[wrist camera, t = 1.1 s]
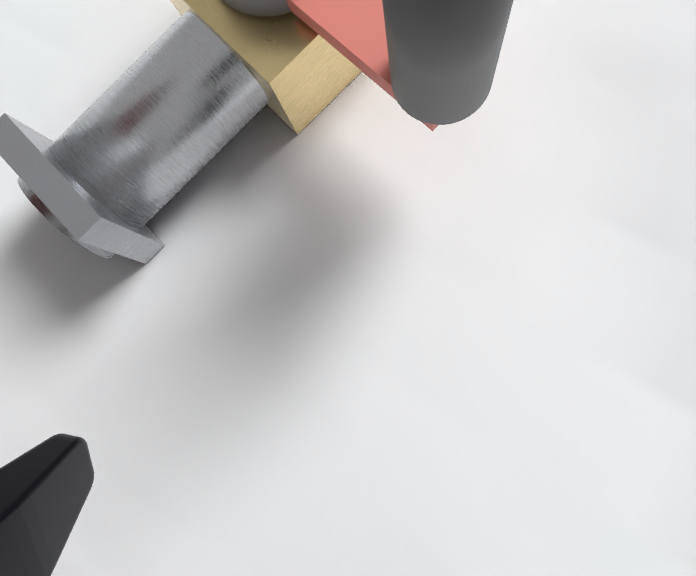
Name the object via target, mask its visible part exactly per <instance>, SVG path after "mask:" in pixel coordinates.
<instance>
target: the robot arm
mask: <svg viewBox="0 0 696 576" xmlns="http://www.w3.org/2000/svg"><path fill="white" fill-rule="evenodd" d="M93 480H94V470H93V466H92V462H91V458H90V454H89V450H88V446H87V443H86V441H85V440H84V439H83V438H81V437H77V436H72V435H68V434H57V435H54V436H52V437H50V438H49V439H47V440H45V441H44V442H42V443H41V444H39V445H37V446H36V447H34V448H32V449H31V450H29V451H28V452H26V453H24V454H23V455H21V456H19V457H18V458H16V459H15V460H13V461H11V462H10V463H8V464H6V465H5V466H3V467H2V468H0V576H51V574H52V572H53V570H54V568H55V566H56V563H57V561H58V559H59V557H60V555H61V553H62V550H63V548H64V546H65V544H66V542H67V540H68V537H69V535H70V533H71V531H72V529H73V526H74V524H75V522H76V520H77V518H78V516H79V513H80V511H81V509H82V507H83V505H84V503H85V500H86V498H87V496H88V494H89V492H90V489H91V487H92V484H93Z"/></svg>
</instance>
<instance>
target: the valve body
mask: <svg viewBox="0 0 696 576" xmlns="http://www.w3.org/2000/svg"><path fill="white" fill-rule="evenodd" d="M171 2H172V3H173V5H174V6H175V8H176V9H177V10H178V12H179V13H180V15H181V17H180V18H179V19H178V20H177V21H176V22H175V23H174V24H173V25H172V26H171V27H170V28H169V29H168V30H167V31H166V32H165V33H164V34H163V35H162V36H161V37H160V38H159V39H158V40H157V41H156V42H155V43H154V44H153V45H152V46H151V47H150V48H149V49H148V50H147V51H146V52H145V53H144V54H143V55H142V56H141V57H140V58H139V59H138V60H137V61H136V62H135V63H134V64H133V65H132V66H131V67H130V68H129V69H128V70H127V71H126V72H125V73H124V74H123V75H122V76H121V77H120V78H119V79H118V80H117V81H116V82H115V83H114V84H113V85H112V86H111V87H110V88H109V89H108V90H107V91H106V92H105V93H104V94H103V95H102V96H101V97H100V98H99V99H98V100H97V101H96V102H95V103H94V104H93V105H91V106H90V107H89V108H88V109H87V110H86V111H85V112H84V113H83V114H82V115H81V116H80V117H79V118H78V119H77V120H76V121H75V122H74V123H73V124H72V125H71V126H70V127H69V128H68V129H67V130H66V131H65V132H64V133H63V134H62V135H61V136H60V137H59V138H58V139H57V140H56V141H55V142H53V141H51V140H50V139H48V138H46V137H45V136H43V135H41V134H40V133H38V132H36V131H34V130H33V129H31V128H29V127H28V126H26V125H24V124H23V123H21V122H19V121H17V120H16V119H14V118H12V117H11V116H9V115H7V114H6V113H4V114H3V115H2V116H1V117H0V156H1V157H2V158H3V159H4V160H5V161H6V162H7V163H8V164H9V166H10V167H11V168H12V169H13V170H14V171H15V172H16V173H17V174H18V175H19V178H18V183H19V186H20V188H21V190H22V191H23V193H24V194H25V195H26V197H27V198H28V199H29V200H30V202H31V203H32V204H33V205H34V206H35V207H36V208H37V209H38V210H39V211H40V212H41V213H42V214H43V215H44V216H45V217H46V218H47V219H48V220H49V221H50V222H51V223H52V224H54V225H55V226H56V227H57V228H58V229H59V230H61V231H62V232H63V233H64V234H66V235H67V236H68V237H69V238H71V239H72V240H74V241H75V242H76V243H78V244H79V245H81V246H82V247H84V248H85V249H87V250H89V251H90V252H92V253H94V254H96V255H98V256H100V257H103V258H107V259H110V258H112V257H113V256H114V255H115V254H118V255H121V256H124V257H127V258H130V259H133V260H135V261H138V262H141V263H144V264H146V263H147V262H148V261H149V260H150V259H151V258H152V257H153V256H154V255H155V254H156V253H157V252H158V251H160V250H161V249H162V248H163V247H164V246H165V245H164V244H163V243H162V242H161V241H160V240H159V239H158V238H157V237H156V236H155V235H154V234H153V232H152V231H151V230H150V229H149V228H148V227H147V226H146V225H145V224H146V223H147V222H148V221H149V220H150V219H151V218H152V217H153V216H154V215H155V214H156V213H157V212H158V211H159V210H160V209H161V208H162V207H163V206H164V205H165V204H166V203H167V202H168V201H169V200H170V199H171V198H172V197H173V196H174V195H175V194H176V193H177V192H179V191H180V190H181V189H182V188H183V187H184V186H185V185H186V184H187V183H188V182H189V181H190V180H191V179H192V178H193V177H194V176H195V175H196V174H197V173H198V172H199V171H200V170H201V169H202V168H203V167H204V166H205V165H206V164H207V163H208V162H209V161H210V160H211V159H212V158H213V157H214V156H215V155H216V154H217V153H218V152H219V151H220V150H221V149H222V148H223V147H224V146H225V145H226V144H227V143H228V142H229V141H230V140H231V139H232V138H233V137H234V136H235V135H236V134H237V133H238V132H239V131H240V130H241V129H242V128H243V127H244V126H245V125H246V124H247V123H248V122H249V121H250V120H251V119H252V118H253V117H254V116H255V115H256V114H257V113H258V112H259V111H260V110H261V109H262V108H263V107H264V106H265V105H266V104H267V105H268V106H269V107H270V108H271V109H272V110H273V111H274V112H275V113H276V114H277V115H278V116H279V117H280V118H281V119H282V120H283V121H284V122H285V123H286V124H287V125H288V126H289V127H290V128H291V129H292V130H293V131H294V132H295V133H296V134H297V135H298V134H299V133H300V132H301V131H302V130H303V129H304V128H305V127H306V126H307V125H308V124H309V123H310V122H311V121H312V120H313V119H314V118H315V117H316V116H317V115H318V114H319V113H320V112H321V111H322V110H323V109H324V108H325V107H326V106H327V105H328V104H329V103H330V102H331V101H332V100H333V99H334V98H335V97H336V96H337V95H338V94H339V93H340V92H342V91H343V90H344V89H345V88H346V87H347V86H348V85H349V84H350V83H351V82H352V81H353V80H354V79H355V78H356V77H357V76H358V75H359V74H360V73H361V72H362V71H361V70H360V69H359V68H358V67H356V66H355V65H354V64H353V63H352V62H350V61H349V60H348V59H347V58H346V57H345V56H343V55H342V54H341V53H340V52H339V51H337V50H336V49H335V48H334V47H333V46H332V45H330V44H329V43H328V42H327V41H326V40H324V39H323V38H322V37H321V36H320V35H319V34H317V33H316V32H315V31H314V30H313V29H311V28H310V27H309V26H308V25H307V24H306V23H304V22H303V21H302V20H301V19H300V18H299V17H297V16H296V15H295V14H294V13H293V12H290V13H286V14H283V15H277V16H264V17H263V16H254V15H249V14H245V13H243V12H240V11H238V10H236V9H234V8H232V7H230V6H229V5H227V4H226V3H225V2H223V1H222V0H171Z"/></svg>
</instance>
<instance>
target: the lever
mask: <svg viewBox="0 0 696 576" xmlns="http://www.w3.org/2000/svg"><path fill="white" fill-rule="evenodd" d="M222 1H223V2H225V3H226V4H227V5H229V6H230V7H232V8H234V9H236V10H238V11H240V12H243V13H245V14H249V15H254V16H263V17H264V16H277V15H283V14H286V13H290V12H293V13H294V14H295V15H296V16H297V17H299V18H300V19H301V20H302V21H303V22H304V23H306V24H307V25H308V26H309V27H310V28H311V29H313V30H314V31H315V32H316V33H317V34H319V35H320V36H321V37H322V38H323V39H324V40H326V41H327V42H328V43H329V44H330V45H332V46H333V47H334V48H335V49H336V50H337V51H339V52H340V53H341V54H342V55H343V56H345V57H346V58H347V59H348V60H349V61H350V62H352V63H353V64H354V65H355V66H356V67H358V68H359V69H360V70H361V71H362V72H363V73H365V74H366V75H367V76H368V77H369V78H370V79H372V80H373V81H374V82H375V83H376V84H378V85H379V86H380V87H381V88H382V89H383V90H385V91H386V92H387V93H388V94H389V95H391V96H392V97H393V98H394V99H395V100H396V101H397V102H398V103H399V105H400V106H401V107H402V109H403V110H405V111H406V112H407V113H408V114H409V115H410V116H412V117H414V118H415V119H417V120H419V121H421V122H422V123H424V124H425V125H426V126H427V127H428V128H429V129H431V130H432V131H433V130H434V129H435V128H436V127H437V126H438V125H445V124H451V123H455V122H458V121H461V120H463V119H465V118H467V117H469V116H470V115H471V114H473V113H474V112H475V111H476V110H477V109H478V108H480V106H481V105H482V104H483V103H484V101H485V99H486V98H487V96H488V94H489V91H490V88H491V85H492V81H493V77H494V73H495V69H496V66H497V62H498V58H499V54H500V50H501V46H502V42H503V38H504V34H505V31H506V27H507V23H508V19H509V15H510V11H511V7H512V3H513V0H222Z"/></svg>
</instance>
